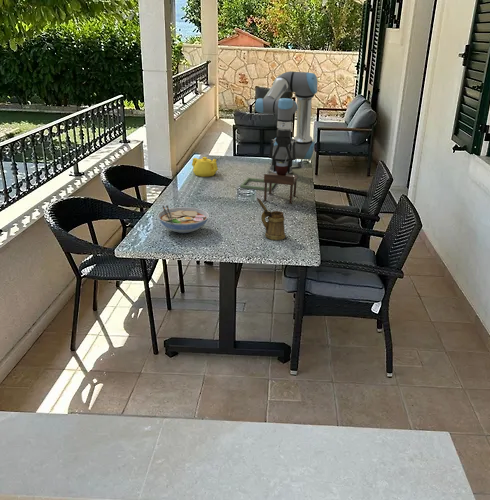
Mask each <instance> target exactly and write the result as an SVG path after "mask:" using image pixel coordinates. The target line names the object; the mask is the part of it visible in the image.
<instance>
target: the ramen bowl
mask: <svg viewBox="0 0 490 500" xmlns="http://www.w3.org/2000/svg"><path fill="white" fill-rule="evenodd" d="M161 206H162V210H161V211H160V212H158V213H157V219H158V220H159V222H160V223H161V224H162V225H163V226H164V227H165V228H166V229H167V230H170V231H172V232H176V233H178V234H189V233H191V232H194V231H197V230H199V229H201V228H202V227H203V226H204V225H205V224H206V223H207V221H208V219H209V216H210V215H209V213H208V212H207V211H206V210H203V209H200V208H197V207H189V206H187V207H186V206H185V207H184V206H179V207H171V208H169V205H167V204H166V205H161Z"/></svg>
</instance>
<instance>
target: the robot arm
mask: <svg viewBox="0 0 490 500" xmlns="http://www.w3.org/2000/svg"><path fill="white" fill-rule="evenodd" d="M288 92H289V93H294V96H295V98H296V99H297V102H296V101H295V100H293V98H288V97H286V98H285V97H282V96H283V95H284V94H285V93H288ZM317 93H318V77H317V75H316V73H314V72H307V71H293V70H292V71H286V72H283V73H281V74H279V75H278V76H276V77H275V78H274V80H273V82H272V86H271V87H270V89H269V90H268V91H267V93H266V94H265V95H264V97H263V98H262V97H259V98H257V99H256V100H255V107H254V109H255V112H256V113H259V114H260V113H261V114H269V115H277V120H276V121H277V123H276V128H277V129H276V136H275V138H274V139H273V138H271V139H270V148H269V153H268V158H269V159H271V162H270V166H269V169H268V174H269V173H276V169H275V166H276V163H277V162H279V161H284V162H285V160H286V158H287V154H288V158H287V160H286V162H287V164H288V172H287V173H286V174H289V175H293V169H299V168H301V167H302V165H301V164H302V163H307V164H309V163H310V161H308V160H311V158H312V157H313V154H314V150H315V145H316V142H315V141H314V140H313V137H312V136H311V123H312V122H311V121H312V99H313V98H314V97H315V95H316V94H317ZM281 97H282V98H281ZM294 114H296V134H295V136H294V137H293V138H292V123H293V122H292V121H293V115H294ZM292 150H293V151H292ZM290 151H292V152H290ZM297 159H299V160H301V161H299V162H297V165H298V166H293V161H296V160H297Z"/></svg>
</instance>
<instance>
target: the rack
mask: <svg viewBox="0 0 490 500" xmlns="http://www.w3.org/2000/svg"><path fill="white" fill-rule="evenodd" d="M263 179H264V182H263V183H264V187H265V188H264V190H263V201H264V202H267V198H268V196H267V195H272V191H273V190H272V189H273V188H272V183H275V185H276V184H277V185H287V186H289V187H290V189H289V202H288V204H289V205H293V198H294V197H297V194H296V193H297V182H298V179H299V176H298V175H297V174H290V175H289V174H286V176H282V175H277V173H269V172H268V173H264V174H263ZM268 186H269V187H268ZM267 188H269V191H268V190H267Z"/></svg>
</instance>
